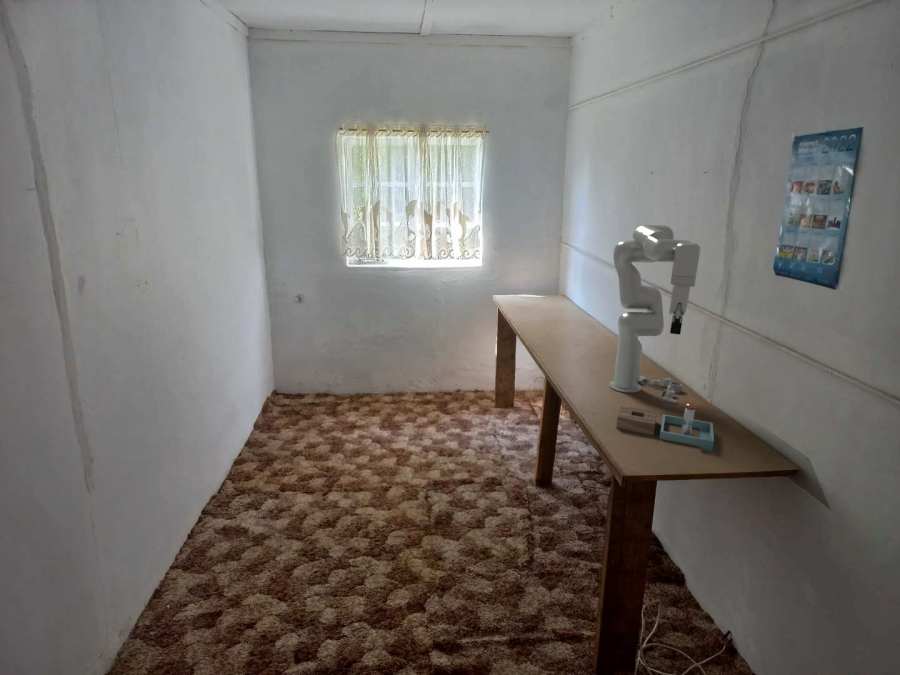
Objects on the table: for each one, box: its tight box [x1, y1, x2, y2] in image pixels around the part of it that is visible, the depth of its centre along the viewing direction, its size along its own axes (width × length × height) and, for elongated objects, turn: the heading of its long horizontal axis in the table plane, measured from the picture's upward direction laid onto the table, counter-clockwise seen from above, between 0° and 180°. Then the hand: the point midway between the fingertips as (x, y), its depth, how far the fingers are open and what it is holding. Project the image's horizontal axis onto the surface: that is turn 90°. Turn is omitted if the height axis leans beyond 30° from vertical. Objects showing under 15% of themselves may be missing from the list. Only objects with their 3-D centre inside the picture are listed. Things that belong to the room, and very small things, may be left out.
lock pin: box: [680, 402, 697, 436], centre depth 193 cm, size 3×3×11 cm
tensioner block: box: [615, 404, 658, 436], centre depth 199 cm, size 12×12×5 cm
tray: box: [659, 414, 715, 452], centre depth 194 cm, size 16×16×4 cm
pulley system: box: [638, 375, 683, 405], centre depth 237 cm, size 27×5×15 cm
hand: (675, 330), depth 197 cm, fingers open, 9 cm apart
